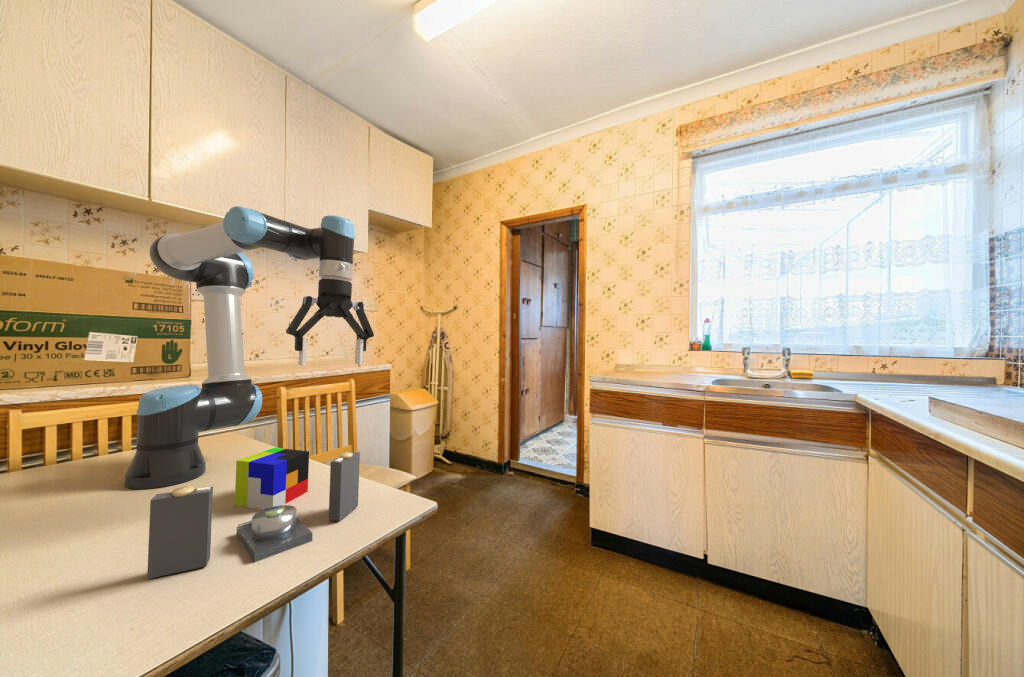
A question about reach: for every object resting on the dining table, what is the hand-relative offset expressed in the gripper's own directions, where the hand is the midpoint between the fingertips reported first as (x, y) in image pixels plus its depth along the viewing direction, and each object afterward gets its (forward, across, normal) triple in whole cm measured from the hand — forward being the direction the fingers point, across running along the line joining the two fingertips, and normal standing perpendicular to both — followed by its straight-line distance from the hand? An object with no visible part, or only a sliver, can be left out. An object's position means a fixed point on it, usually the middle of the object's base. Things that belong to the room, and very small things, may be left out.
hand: (331, 364), depth 89 cm
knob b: (+31, -2, -16) cm, 35 cm away
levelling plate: (+31, -15, -16) cm, 38 cm away
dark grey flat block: (+31, -28, -16) cm, 45 cm away
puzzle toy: (+31, -11, +3) cm, 33 cm away
